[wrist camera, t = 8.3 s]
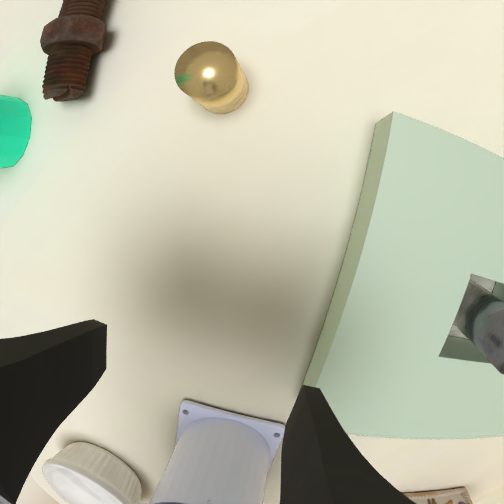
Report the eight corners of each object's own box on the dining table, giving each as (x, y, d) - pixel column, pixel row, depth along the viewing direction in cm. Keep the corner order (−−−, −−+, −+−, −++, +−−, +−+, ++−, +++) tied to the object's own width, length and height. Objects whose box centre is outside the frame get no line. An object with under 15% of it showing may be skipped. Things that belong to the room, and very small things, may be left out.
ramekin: (149, 459, 25) (129, 498, 20) (152, 508, 27) (139, 539, 22) (55, 417, 26) (29, 446, 20) (73, 473, 28) (54, 499, 23)
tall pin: (469, 324, 18) (521, 375, 11) (437, 317, 18) (486, 373, 11) (484, 284, 17) (545, 324, 10) (452, 275, 17) (512, 317, 11)
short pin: (242, 117, 17) (228, 101, 13) (192, 110, 17) (168, 94, 14) (253, 70, 16) (242, 44, 13) (204, 64, 17) (183, 39, 13)
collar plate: (489, 412, 19) (504, 435, 16) (298, 393, 21) (298, 426, 17) (568, 212, 15) (596, 218, 11) (375, 123, 16) (393, 111, 13)
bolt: (85, 106, 20) (123, -45, 16) (115, 96, 17) (158, -71, 13) (16, 103, 15) (66, -61, 11) (31, 89, 13) (96, -93, 9)
